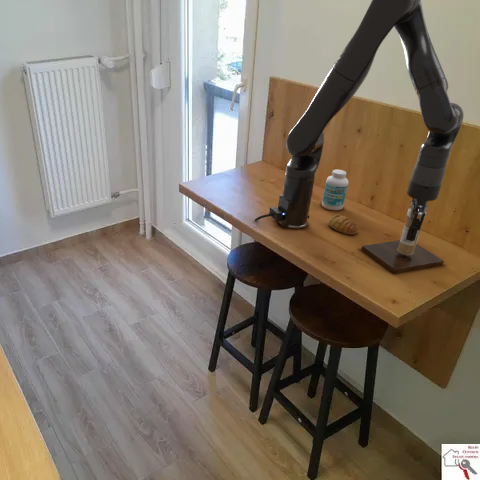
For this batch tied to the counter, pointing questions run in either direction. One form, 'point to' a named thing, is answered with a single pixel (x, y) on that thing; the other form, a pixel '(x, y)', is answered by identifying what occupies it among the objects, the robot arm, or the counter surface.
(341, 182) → the pill bottle
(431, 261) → the walnut board
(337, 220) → the pastry
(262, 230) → the counter surface
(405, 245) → the sprinkles bottle
